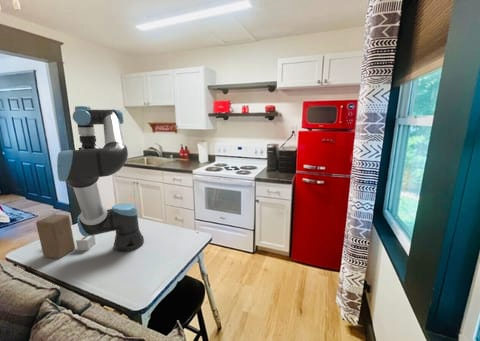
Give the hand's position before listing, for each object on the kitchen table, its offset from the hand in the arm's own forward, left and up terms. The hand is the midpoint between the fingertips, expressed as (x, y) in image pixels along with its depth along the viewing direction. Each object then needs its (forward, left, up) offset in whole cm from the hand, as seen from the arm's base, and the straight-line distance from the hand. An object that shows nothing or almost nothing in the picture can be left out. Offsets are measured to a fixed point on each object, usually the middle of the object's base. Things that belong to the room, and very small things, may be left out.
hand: (93, 176), depth 132 cm
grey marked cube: (-3, +14, -37) cm, 39 cm away
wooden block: (+6, +22, -37) cm, 43 cm away
